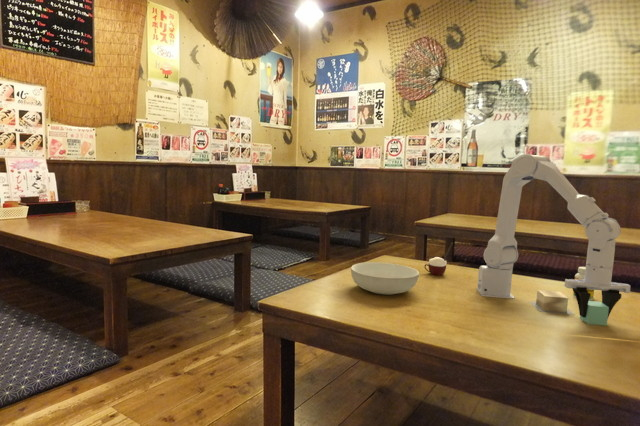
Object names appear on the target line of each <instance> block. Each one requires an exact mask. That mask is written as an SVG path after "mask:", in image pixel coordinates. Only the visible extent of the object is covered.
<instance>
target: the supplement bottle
mask: <svg viewBox="0 0 640 426" xmlns="http://www.w3.org/2000/svg"><path fill="white" fill-rule="evenodd" d="M585 269H586V266H578V269H577V273H575V275H574V279H584V278H585ZM587 290H588V293H590V294H591V295H590V298H589V301H593V299H594V294H595V290H592V289H587ZM572 297H574V299H576V296H575V294H574V292H573V293H572Z"/></svg>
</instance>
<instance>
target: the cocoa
mask: <svg viewBox="0 0 640 426" xmlns="http://www.w3.org/2000/svg"><path fill="white" fill-rule="evenodd" d="M453 245H454V242H451V243H450V245H449V247H448V248H447V252H446V253H445V255H444V258H442V257H438V256H435V257H433V258H432V257H431V258H429V260H428V264H427V263H426V264H424V266H423V267H424V269H425V270H426V271H427V272H428V273H429V274H431V275H433V276H442V275H444V274H445V273H446V269H447V259H448V258H447V257H448V256H449V254H450V252H451V250H452V247H453ZM426 266H428V269H427V268H426Z"/></svg>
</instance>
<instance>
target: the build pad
mask: <svg viewBox="0 0 640 426" xmlns="http://www.w3.org/2000/svg"><path fill="white" fill-rule="evenodd" d="M528 302H529V303H530V304H531V305H532V306H533V307H534V308H535V309H536V310H537V311H539V312H541V313H542V312H543V313H550V314H551V313H552V314H562V315H574V316H575V315H576V314H575V313H574V312H572V311H571V309H569V308H567V312H559V311H547V310H543V309H542V308H540V307H539V306H538V305H537V304H536V301H531V300H529V301H528Z"/></svg>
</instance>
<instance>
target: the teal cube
mask: <svg viewBox="0 0 640 426" xmlns="http://www.w3.org/2000/svg"><path fill="white" fill-rule="evenodd" d="M608 311H609V307H608V306H606V305H605V304H603V303H602V301H595V300H594V301H593V300H589V301H588V305H587V314H586V317H582V316H581V315H580V314H579V318H580V319H581V320H582V321H583V322H584V323H586V324H587V325H595V326H597V325H598V326H607V325H608V319H609V317H608Z"/></svg>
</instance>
